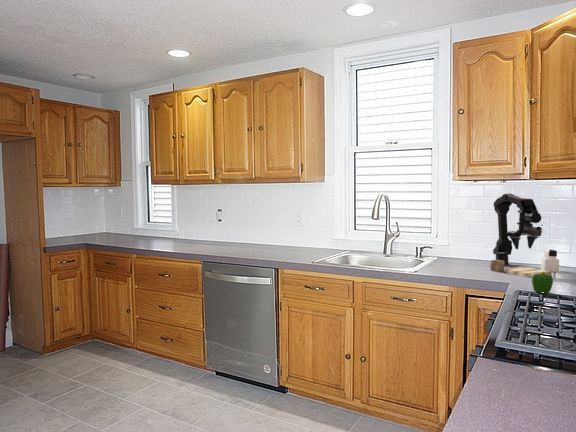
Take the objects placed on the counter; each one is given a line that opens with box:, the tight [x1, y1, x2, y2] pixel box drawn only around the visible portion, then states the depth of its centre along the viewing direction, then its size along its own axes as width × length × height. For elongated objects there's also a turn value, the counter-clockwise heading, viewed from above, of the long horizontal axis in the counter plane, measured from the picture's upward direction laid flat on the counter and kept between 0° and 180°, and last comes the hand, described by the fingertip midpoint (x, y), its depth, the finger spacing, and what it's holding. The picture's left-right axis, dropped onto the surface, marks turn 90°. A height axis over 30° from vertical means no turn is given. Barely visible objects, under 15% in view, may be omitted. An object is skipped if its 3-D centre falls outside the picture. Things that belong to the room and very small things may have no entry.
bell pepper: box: [531, 272, 554, 294], centre depth 197 cm, size 8×8×10 cm
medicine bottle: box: [540, 249, 560, 273], centre depth 246 cm, size 7×7×12 cm
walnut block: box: [490, 259, 506, 273], centre depth 246 cm, size 5×5×6 cm
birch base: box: [504, 266, 553, 279], centre depth 238 cm, size 16×16×2 cm
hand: (523, 248), depth 242 cm, fingers open, 9 cm apart
